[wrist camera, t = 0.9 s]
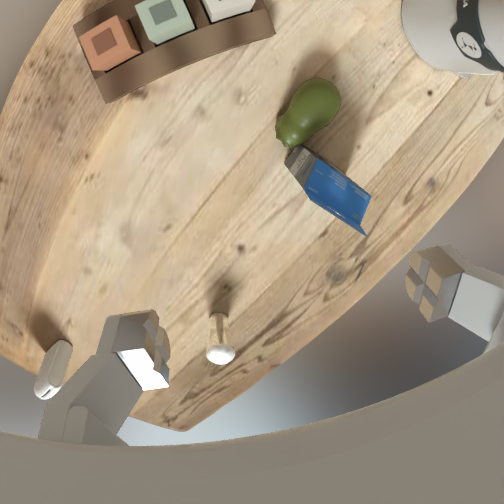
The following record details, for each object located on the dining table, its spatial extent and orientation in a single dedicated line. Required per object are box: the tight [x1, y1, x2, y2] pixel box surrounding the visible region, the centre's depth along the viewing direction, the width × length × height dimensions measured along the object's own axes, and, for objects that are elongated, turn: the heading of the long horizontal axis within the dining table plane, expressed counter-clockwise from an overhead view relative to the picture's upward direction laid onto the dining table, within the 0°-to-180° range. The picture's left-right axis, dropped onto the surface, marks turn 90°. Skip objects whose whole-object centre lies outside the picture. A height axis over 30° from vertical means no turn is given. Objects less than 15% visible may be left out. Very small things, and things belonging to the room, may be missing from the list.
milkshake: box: [205, 313, 235, 364], centre depth 48 cm, size 5×5×10 cm
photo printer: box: [34, 340, 73, 399], centre depth 48 cm, size 10×4×12 cm, turn 127°
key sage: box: [135, 0, 195, 44], centre depth 23 cm, size 4×4×5 cm
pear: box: [275, 78, 341, 149], centre depth 34 cm, size 6×5×10 cm
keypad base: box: [73, 0, 276, 104], centre depth 26 cm, size 21×12×3 cm, turn 110°
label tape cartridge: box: [284, 144, 371, 237], centre depth 35 cm, size 9×4×12 cm, turn 58°
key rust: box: [79, 15, 141, 71], centre depth 24 cm, size 4×4×5 cm
